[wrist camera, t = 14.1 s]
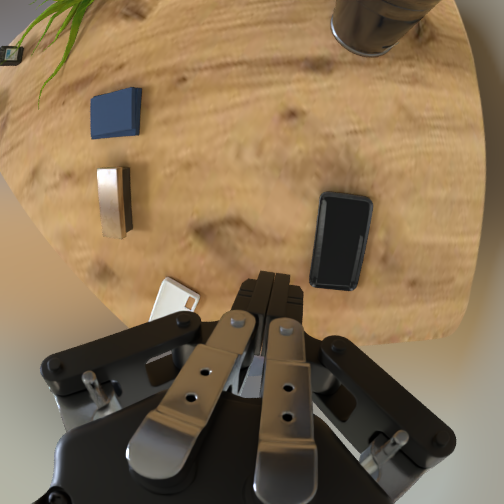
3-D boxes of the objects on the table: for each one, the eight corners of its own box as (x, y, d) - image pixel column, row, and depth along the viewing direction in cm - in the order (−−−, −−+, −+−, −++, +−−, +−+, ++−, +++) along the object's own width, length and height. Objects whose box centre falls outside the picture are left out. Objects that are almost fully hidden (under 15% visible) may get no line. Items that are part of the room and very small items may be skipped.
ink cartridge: (21, 62, 34) (-2, 62, 26) (17, 65, 34) (-6, 66, 27) (24, 46, 32) (1, 45, 24) (19, 50, 32) (-3, 49, 25)
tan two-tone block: (111, 165, 41) (96, 168, 38) (130, 164, 41) (116, 168, 37) (115, 229, 46) (102, 236, 43) (134, 231, 46) (121, 239, 42)
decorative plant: (30, 61, 34) (-16, 60, 20) (116, -32, 23) (72, -54, 10) (44, 109, 38) (-9, 116, 25) (142, 8, 28) (89, -20, 15)
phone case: (166, 275, 48) (148, 325, 54) (163, 278, 47) (145, 329, 53) (201, 295, 48) (178, 343, 55) (198, 299, 47) (175, 347, 54)
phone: (308, 286, 42) (320, 192, 36) (308, 283, 43) (320, 190, 37) (356, 291, 41) (375, 199, 35) (355, 288, 42) (373, 197, 36)
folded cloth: (97, 96, 36) (89, 95, 34) (142, 88, 35) (134, 86, 33) (95, 138, 40) (87, 140, 38) (139, 135, 38) (131, 135, 36)
